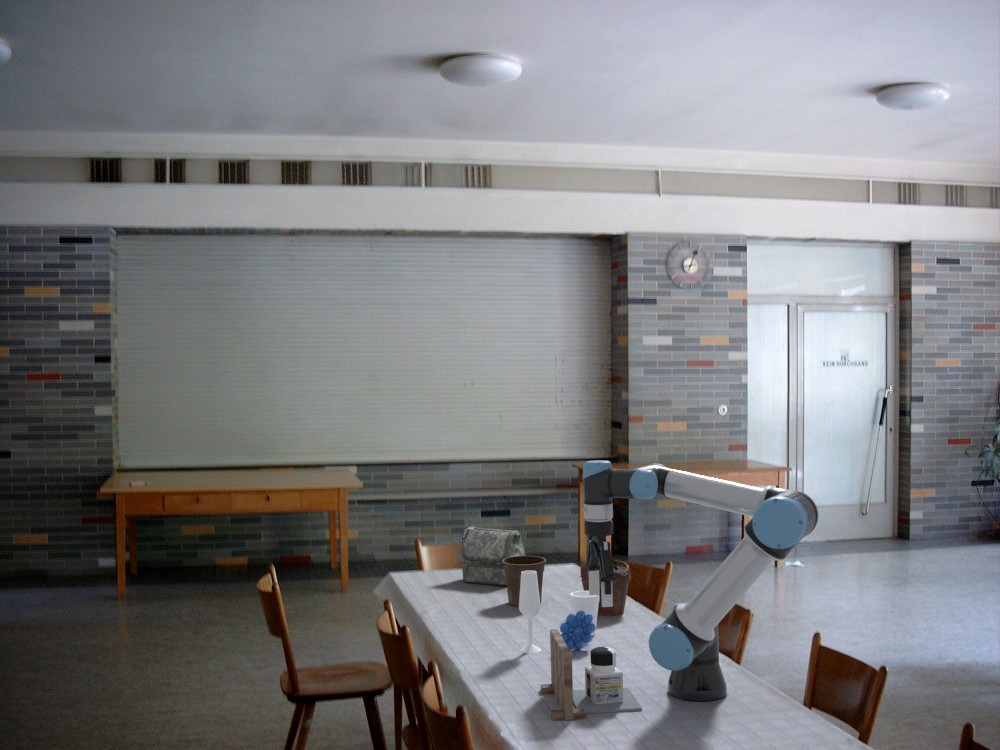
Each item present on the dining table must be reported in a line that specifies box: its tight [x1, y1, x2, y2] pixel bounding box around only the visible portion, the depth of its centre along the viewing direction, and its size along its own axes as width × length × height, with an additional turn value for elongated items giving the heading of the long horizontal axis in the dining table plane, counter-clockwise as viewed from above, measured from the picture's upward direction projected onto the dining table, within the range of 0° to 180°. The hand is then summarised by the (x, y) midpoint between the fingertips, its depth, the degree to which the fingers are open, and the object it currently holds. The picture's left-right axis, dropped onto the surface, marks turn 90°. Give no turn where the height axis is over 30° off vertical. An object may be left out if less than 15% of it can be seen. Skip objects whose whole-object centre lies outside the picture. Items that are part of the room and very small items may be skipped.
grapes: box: [559, 611, 597, 651], centre depth 299 cm, size 12×7×12 cm, turn 103°
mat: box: [573, 687, 643, 714], centre depth 251 cm, size 16×16×1 cm
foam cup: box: [569, 590, 599, 637], centre depth 316 cm, size 10×9×13 cm
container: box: [584, 646, 624, 705], centre depth 251 cm, size 8×8×13 cm
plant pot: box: [502, 555, 547, 607], centre depth 360 cm, size 16×16×16 cm
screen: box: [539, 628, 586, 721], centre depth 250 cm, size 24×8×16 cm, turn 5°
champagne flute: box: [518, 570, 542, 654], centre depth 299 cm, size 7×7×24 cm
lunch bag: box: [458, 525, 527, 587], centre depth 400 cm, size 26×18×22 cm
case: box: [579, 559, 632, 617], centre depth 345 cm, size 18×20×18 cm
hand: (600, 600), depth 256 cm, fingers open, 13 cm apart
